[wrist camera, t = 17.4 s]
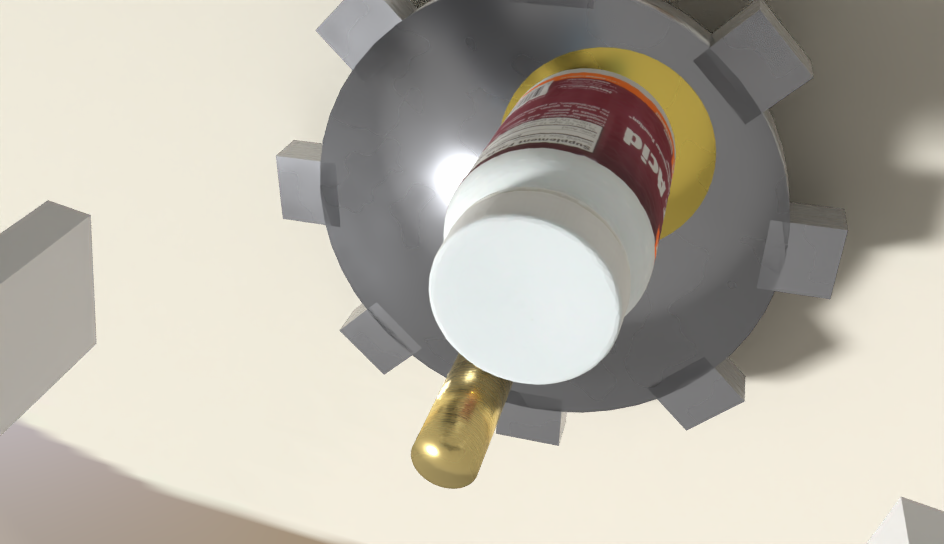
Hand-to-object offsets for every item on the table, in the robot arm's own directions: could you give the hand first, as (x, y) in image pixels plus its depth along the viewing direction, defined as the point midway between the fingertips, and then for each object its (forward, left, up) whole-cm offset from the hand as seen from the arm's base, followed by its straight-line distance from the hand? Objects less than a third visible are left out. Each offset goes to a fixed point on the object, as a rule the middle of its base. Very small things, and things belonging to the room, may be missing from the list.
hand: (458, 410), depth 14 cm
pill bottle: (+1, 0, -13) cm, 13 cm away
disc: (+3, -1, -14) cm, 14 cm away
